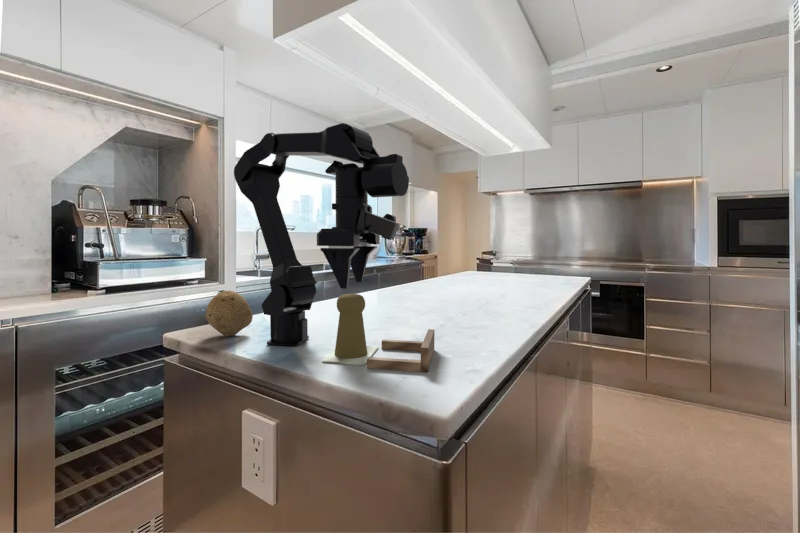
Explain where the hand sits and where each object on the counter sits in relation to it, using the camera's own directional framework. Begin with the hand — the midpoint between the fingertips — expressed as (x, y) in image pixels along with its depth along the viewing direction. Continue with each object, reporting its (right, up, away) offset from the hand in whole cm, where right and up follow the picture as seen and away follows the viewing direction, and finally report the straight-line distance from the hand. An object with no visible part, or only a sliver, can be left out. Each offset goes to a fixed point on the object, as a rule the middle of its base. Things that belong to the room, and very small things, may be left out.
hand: (352, 285), depth 69 cm
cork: (0, -13, +1) cm, 13 cm away
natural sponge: (-29, -12, +14) cm, 34 cm away
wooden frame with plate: (+6, -13, 0) cm, 14 cm away
